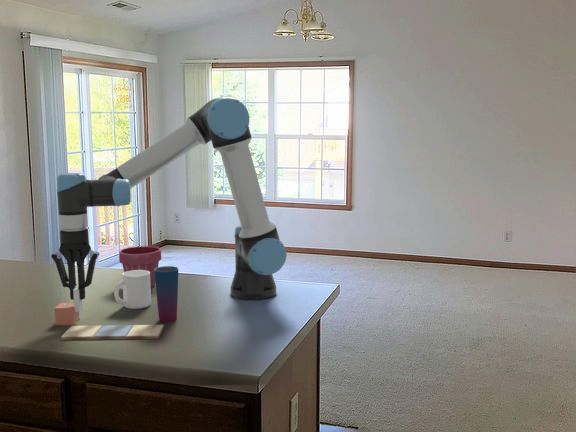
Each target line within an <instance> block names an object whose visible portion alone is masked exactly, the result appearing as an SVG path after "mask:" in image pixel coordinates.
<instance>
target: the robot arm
mask: <svg viewBox="0 0 576 432" xmlns="http://www.w3.org/2000/svg"><path fill="white" fill-rule="evenodd" d="M249 125H250V113H249V110H248V109H247V106H246V105H245V104H244V103H243V102H242V101H240V100H239V99H238V98H235V97H232V96H220V97H218V98H213V99H211V100H209V101H207V102H206V103H205V104H203V106H201V107H200V108H199V109H198V110H197V111H196V112H194V113H193V114H192V115H190V116H188V117H187V118H186V122H185V123H184V124H182V125H180V126H179V127H178V128H176V129H174V130H173V131H171V132H170V133H168V134H167V135H165V136H164V137H162V138H160V139H158V140H157V141H156V142H154V143H152V144H151V145H150V146H148V147H146V148H145V149H143V150H142V151H140V152H138V153H137V154H136V155H134V156H132V157H131V158H130V159H128V160H126V161H125V162H124V163H122V164H120V165H119V166H117V167H116V168H114V169H112V170H111V171H109V172H108V173H106V174H103V175H102V176H100V177H99V178H98V179H87V178H86V174H85V173H83V172H64V173H59V175H58V176H57V177H56V187H57V188H56V192H57V193H56V195H57V206H58V207H57V208H58V224H59V229H60V231H59V239H60V241H59V242H60V246H59V248H58V251H56V252H54V253H52V254H51V256H50V257H51V258H52V260H53V262H55V263H54V264H55V266H56V269H57V272H58V275H59V278H60V281H61V285H62V287H64V288H68V289H69V299H70V300H73V303H74V312H79V313H81V311H82V310H83V308H84V307H83V300H84V299H85V298H86V288H87V287H89V286H90V285H92V282H93V277H94V272H95V267H96V262H97V259H98V258H99V257H100V251H94V250H93V249H92V247H91V245H90V239H89V229H88V227H89V219H88V218H89V217H88V208H94V207H121V206H129V205H131V200H132V199H131V198H132V197H131V196H132V195H131V194H132V192H131V189H132V188H134V187H135V186H137V185H139V184H140V183H142V182H143V181H145V180H146V179H148V178H149V177H151V176H152V175H154V174H156V173H157V172H159V171H160V170H161V169H164V168H165V167H167V166H168V165H170V164H171V163H172V162H174V161H176V160H177V159H179V158H180V157H182V156H184V155H185V154H187V153H189V152H190V151H191V150H192V149H194V148H195V147H198V146H199V145H204V146H205V145H207V144H208V143H210V142H211V144H212V148H213V149H214V150H215V151H217V152H218V153H220V156H221V160H222V164H223V167H224V170H225V174H226V177H227V178H226V179H227V181H228V184H229V188H230V192H231V195H232V199H233V202H234V206H235V209H236V212H237V216H238V219H239V223H240V225H238V226H236V227H235V229H234V251H235V253H234V255H235V256H234V257H235V261H234V262H235V263H234V264H235V272H234V275H233V278H232V281H231V284H230V295H231V296H232V297H233V298H237V299H241V300H263V299H264V300H265V299H268V298H272V297H274V296H275V295H277V286H276V285H277V284H276V282H275V280H274V279H275V278H274V275H273V274H276V273H277V272H279V271H280V270H281V269H282V268H283V266H284V264H285V263H286V261H287V256H288V255H287V254H288V253H287V250H286V247H285V245H284V243H283V242H282V241H281V240H280V237H279V233H278V228H277V225H276V224H275V223H273V222H271V221H270V219H269V216H268V211H267V208H266V205H265V201H264V197H263V193H262V189H261V186H260V183H259V179H258V175H257V171H256V167H255V165H254V162H253V157H252V153H251V150H250V147H249V145H250V142H251V141H252V135H251V130H250V126H249ZM87 256H88V258H89V261H88V267H87V271H86V272H85V259H86V258H87ZM63 258H64V259H65V260H66V264H67V270H66V267H65V264H64V260H63ZM76 269H77V270H76ZM76 271H77V277H76ZM85 273H86V274H85ZM85 275H86V276H85ZM76 279H77V281H78V282H77V281H76ZM77 283H78V284H77ZM77 285H78V286H77Z"/></svg>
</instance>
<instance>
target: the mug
mask: <svg viewBox="0 0 576 432" xmlns="http://www.w3.org/2000/svg"><path fill="white" fill-rule="evenodd" d="M121 287H122V297H123V299H122V298H121V297H120V289H121ZM151 289H152V287H150V272H149V271H146V270H131V271H127V272H124V271H123V272H122V280H120V281H119V282H118V283H117V284H116V285H115V288H114V299H115V301H116V302H117V303H119V304H120V305H123V306H124V307H125V308H126V309H131V310H139V309H145V308H148V307H150V305H151V303H152V293H151V292H152V291H151Z"/></svg>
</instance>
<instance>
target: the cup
mask: <svg viewBox="0 0 576 432" xmlns="http://www.w3.org/2000/svg"><path fill="white" fill-rule="evenodd" d="M154 274H155V292H156V294H155V295H156V302H157V311H158V312H157V313H158V320H159V322H161V323H172V322H175V321H177V320H178V299H179V298H178V297H179V296H178V294H179V293H178V292H179V289H178V288H179V267H177V266H175V265H170V266H169V265H168V266H167V265H165V266H158V268H155V269H154Z"/></svg>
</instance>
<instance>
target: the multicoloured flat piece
mask: <svg viewBox="0 0 576 432" xmlns="http://www.w3.org/2000/svg"><path fill="white" fill-rule="evenodd" d="M164 329H165V325H164V324H133V325H132V324H119V325H118V324H116V325H115V324H114V325H111V324H110V325H108V324H107V325H103V324H102V325H70V327H69V328H68V329H67V330H66V331H65V332H64V333H63V334H62V335H61V337H59V338H60V341H70V340H71V341H74V340H75V341H78V340H81V341H85V340H87V341H88V340H89V341H90V340H91V341H92V340H146V339H147V340H151V339H153V340H154V339H156V340H159V339H160V337H161V335H162V333H163V331H164Z"/></svg>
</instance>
